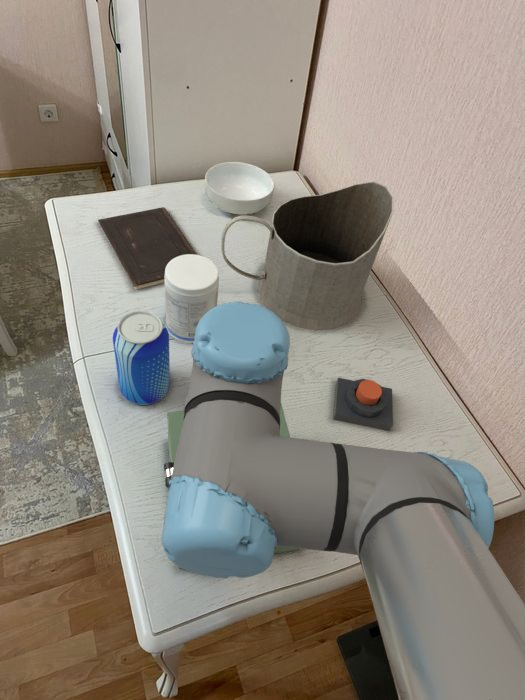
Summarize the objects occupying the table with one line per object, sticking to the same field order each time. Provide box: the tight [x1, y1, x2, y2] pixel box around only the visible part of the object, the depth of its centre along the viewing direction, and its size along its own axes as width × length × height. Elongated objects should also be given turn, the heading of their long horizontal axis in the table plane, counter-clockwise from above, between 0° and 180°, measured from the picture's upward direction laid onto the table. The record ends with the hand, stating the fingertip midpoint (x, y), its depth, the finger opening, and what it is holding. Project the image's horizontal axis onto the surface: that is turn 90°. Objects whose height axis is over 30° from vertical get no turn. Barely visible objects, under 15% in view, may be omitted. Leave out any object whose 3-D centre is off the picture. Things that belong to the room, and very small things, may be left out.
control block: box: [332, 377, 394, 432], centre depth 89 cm, size 8×10×4 cm
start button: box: [356, 379, 382, 406], centre depth 87 cm, size 4×4×2 cm
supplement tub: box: [164, 254, 220, 344], centre depth 92 cm, size 10×10×15 cm
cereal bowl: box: [204, 161, 275, 216], centre depth 124 cm, size 17×17×7 cm
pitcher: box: [220, 181, 394, 332], centre depth 98 cm, size 23×32×25 cm
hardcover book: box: [97, 206, 198, 290], centre depth 110 cm, size 16×23×2 cm
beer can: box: [112, 310, 171, 406], centre depth 81 cm, size 8×8×16 cm
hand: (214, 523), depth 67 cm, fingers closed
